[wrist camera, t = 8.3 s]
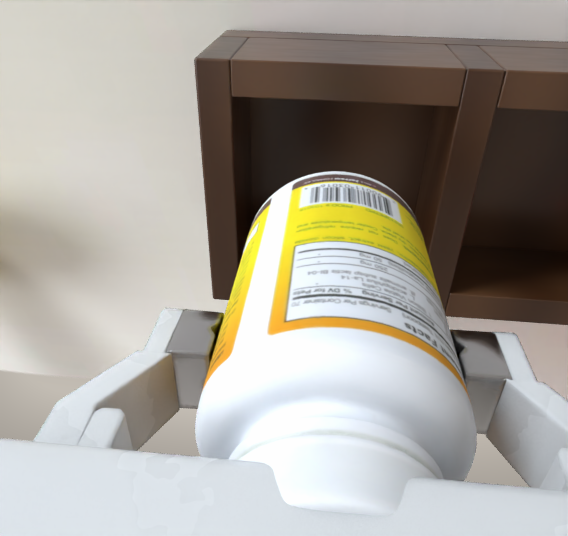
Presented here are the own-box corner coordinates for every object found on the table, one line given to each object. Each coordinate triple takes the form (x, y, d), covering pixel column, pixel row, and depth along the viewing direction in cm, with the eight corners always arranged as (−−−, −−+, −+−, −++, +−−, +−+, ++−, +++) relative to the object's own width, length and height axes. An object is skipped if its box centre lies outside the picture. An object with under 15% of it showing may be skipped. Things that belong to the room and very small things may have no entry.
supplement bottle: (301, 330, 19) (269, 664, 10) (217, 211, 16) (82, 520, 8) (448, 274, 17) (559, 629, 8) (378, 130, 14) (433, 422, 6)
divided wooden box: (698, 46, 20) (805, 81, 15) (602, 259, 25) (660, 332, 21) (225, 29, 21) (193, 57, 16) (234, 236, 26) (212, 299, 22)
